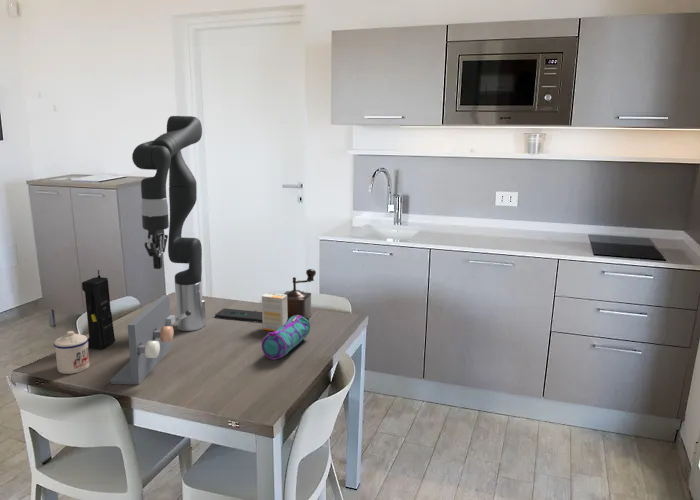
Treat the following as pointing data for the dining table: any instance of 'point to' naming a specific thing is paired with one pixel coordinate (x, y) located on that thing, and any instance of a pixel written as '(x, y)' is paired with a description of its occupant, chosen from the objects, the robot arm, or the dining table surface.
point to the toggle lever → (183, 315)
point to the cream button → (150, 349)
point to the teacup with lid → (72, 353)
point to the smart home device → (240, 315)
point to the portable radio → (98, 312)
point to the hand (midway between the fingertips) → (158, 268)
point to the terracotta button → (164, 334)
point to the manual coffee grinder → (300, 298)
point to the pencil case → (285, 337)
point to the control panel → (145, 341)
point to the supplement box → (274, 311)
